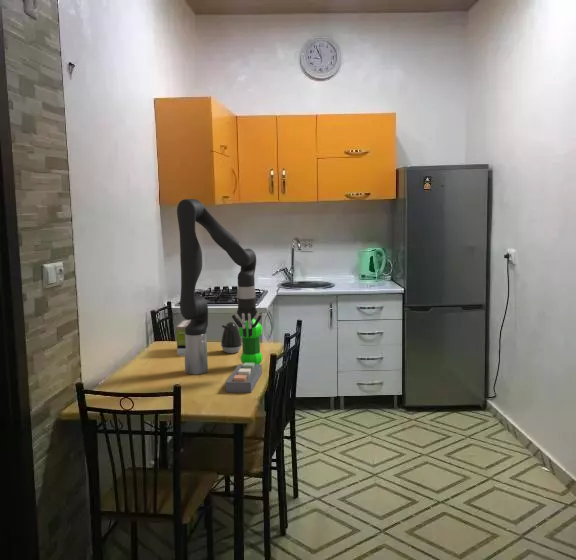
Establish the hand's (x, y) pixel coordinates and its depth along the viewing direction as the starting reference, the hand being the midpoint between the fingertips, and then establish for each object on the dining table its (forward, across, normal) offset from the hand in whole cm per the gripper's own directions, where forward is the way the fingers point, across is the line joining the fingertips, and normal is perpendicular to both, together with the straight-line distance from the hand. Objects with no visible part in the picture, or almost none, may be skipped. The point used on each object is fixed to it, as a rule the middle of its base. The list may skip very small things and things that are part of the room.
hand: (247, 336), depth 255 cm
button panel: (+17, 0, +9) cm, 19 cm away
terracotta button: (+15, 0, +18) cm, 23 cm away
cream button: (+15, 0, +9) cm, 18 cm away
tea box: (+17, +37, -39) cm, 56 cm away
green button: (+15, 0, 0) cm, 15 cm away
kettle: (+17, +16, -39) cm, 46 cm away
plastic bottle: (+17, +2, -15) cm, 23 cm away
